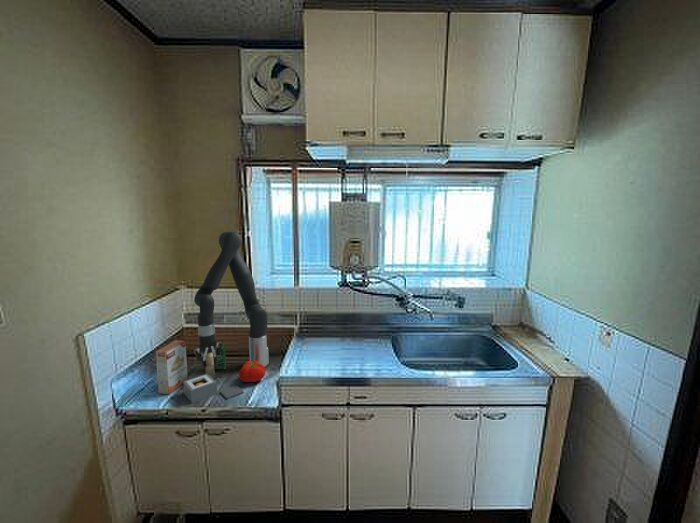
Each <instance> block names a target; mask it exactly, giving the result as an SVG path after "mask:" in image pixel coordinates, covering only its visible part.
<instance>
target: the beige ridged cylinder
mask: <svg viewBox="0 0 700 523" xmlns="http://www.w3.org/2000/svg"><path fill="white" fill-rule="evenodd" d="M205 360H206V367H204V368H205V374H208V375H209V376H210V377H212V378H213V377H214V376H215V375H216V372H215V369H214V359H213V352H209V353H207V356H206V359H205Z"/></svg>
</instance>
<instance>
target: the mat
mask: <svg viewBox="0 0 700 523" xmlns="http://www.w3.org/2000/svg"><path fill="white" fill-rule="evenodd" d="M219 393H220V394H221V396H223V397H224V398H225V399H226V400H230V399H232V398H235V397H237V396H241V395H242V394H244V393H245V391H244V390H243V389H242V388H241V387H239V385H238V384H235V385H231V386H230V387H227V388H224V389H222V390H219ZM229 398H230V399H229Z"/></svg>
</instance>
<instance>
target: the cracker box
mask: <svg viewBox="0 0 700 523" xmlns="http://www.w3.org/2000/svg"><path fill="white" fill-rule="evenodd" d="M186 343H187V342H186V341H185V340H178V339H177V340H176V339H175V340H173V341H171V342H169V344H166V345H164V346H163V347H161V348H159V349H157V350H155V362H156V375H157V388H158V389H157V390H158V394H162V395H171V394H172V393H173V392H174V391H175V390H177V389H178V388H179V387H181V386H182V385H183V381H186V380H189V379H188V363H187V361H188V360H187V346H186Z"/></svg>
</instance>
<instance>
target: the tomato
mask: <svg viewBox="0 0 700 523" xmlns="http://www.w3.org/2000/svg"><path fill="white" fill-rule="evenodd" d="M241 366H242V367H241V368H240V370H239V372H238V377H239V379H240V380H241V382H243V383H250V382H251V383H255V382H259V381H260V380H263V379H264V378H265V376H266V368H265V367H264V366H263V365H262V364H261V363H259V362H258V361H252V362H251V361H250V360H247V361H246V362H245V363H244V364H243V365H241Z"/></svg>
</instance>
